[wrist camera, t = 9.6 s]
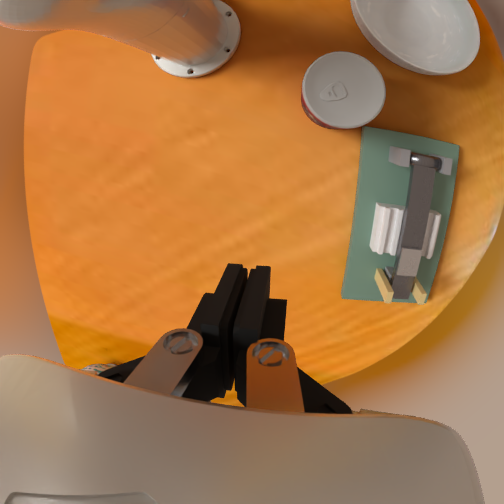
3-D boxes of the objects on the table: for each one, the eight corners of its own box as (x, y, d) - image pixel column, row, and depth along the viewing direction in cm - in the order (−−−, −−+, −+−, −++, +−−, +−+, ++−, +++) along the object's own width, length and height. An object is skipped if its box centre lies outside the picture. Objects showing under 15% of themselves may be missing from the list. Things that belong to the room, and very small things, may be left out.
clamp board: (362, 126, 34) (377, 125, 26) (454, 144, 32) (484, 150, 25) (340, 293, 43) (347, 325, 36) (423, 298, 41) (440, 327, 34)
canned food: (288, 96, 34) (284, 83, 24) (334, 60, 31) (347, 35, 21) (328, 141, 35) (340, 146, 25) (374, 105, 32) (402, 97, 22)
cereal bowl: (322, 31, 29) (326, 12, 23) (373, -40, 22) (383, -63, 16) (429, 105, 31) (454, 102, 24) (470, 29, 24) (494, 18, 17)
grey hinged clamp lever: (407, 151, 30) (412, 152, 28) (436, 156, 30) (442, 158, 28) (383, 293, 37) (386, 300, 36) (408, 294, 37) (412, 301, 35)
